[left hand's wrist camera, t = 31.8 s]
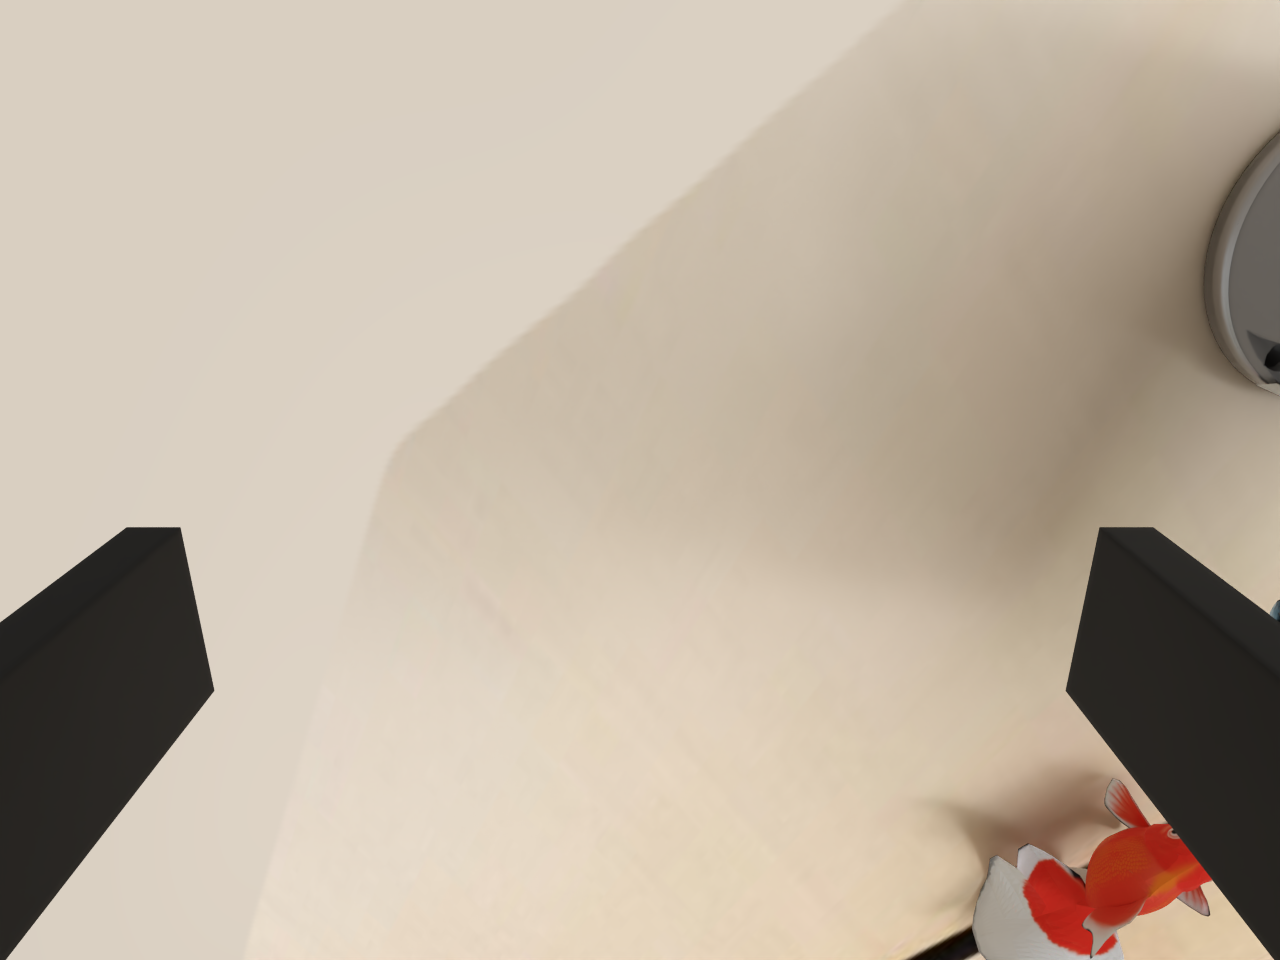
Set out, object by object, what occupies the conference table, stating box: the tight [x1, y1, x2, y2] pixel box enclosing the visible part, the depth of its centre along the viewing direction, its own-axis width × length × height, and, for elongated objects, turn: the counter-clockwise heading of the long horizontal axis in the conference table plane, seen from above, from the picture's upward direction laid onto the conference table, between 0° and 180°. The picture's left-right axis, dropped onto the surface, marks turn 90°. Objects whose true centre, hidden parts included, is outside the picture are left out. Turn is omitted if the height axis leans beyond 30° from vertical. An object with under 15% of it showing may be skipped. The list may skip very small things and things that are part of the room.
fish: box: [972, 779, 1212, 960], centre depth 52 cm, size 11×16×10 cm
